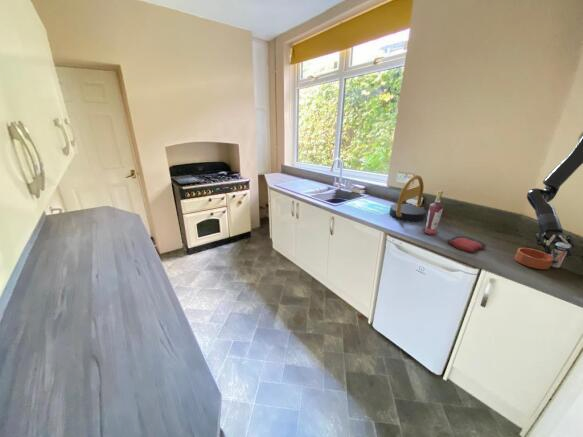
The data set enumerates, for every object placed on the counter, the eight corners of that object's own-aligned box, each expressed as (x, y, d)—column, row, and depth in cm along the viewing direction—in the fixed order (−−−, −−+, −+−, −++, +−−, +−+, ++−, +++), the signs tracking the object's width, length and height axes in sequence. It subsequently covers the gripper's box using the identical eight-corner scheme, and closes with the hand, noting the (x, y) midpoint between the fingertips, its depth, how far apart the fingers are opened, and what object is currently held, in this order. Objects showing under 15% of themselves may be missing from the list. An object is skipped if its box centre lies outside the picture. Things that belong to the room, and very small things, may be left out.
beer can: (543, 263, 117) (553, 242, 113) (548, 262, 119) (558, 240, 114) (556, 269, 113) (567, 246, 108) (561, 267, 114) (572, 245, 110)
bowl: (549, 264, 117) (554, 254, 115) (547, 273, 109) (552, 263, 107) (516, 254, 126) (519, 245, 124) (512, 262, 118) (515, 252, 116)
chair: (433, 216, 180) (443, 175, 169) (411, 227, 160) (421, 181, 148) (401, 207, 198) (409, 170, 187) (378, 216, 177) (385, 175, 166)
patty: (471, 254, 125) (472, 251, 124) (444, 244, 136) (445, 241, 135) (487, 247, 133) (488, 244, 132) (460, 237, 144) (461, 234, 143)
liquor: (432, 237, 145) (443, 193, 135) (420, 232, 151) (430, 190, 140) (438, 234, 149) (449, 191, 139) (427, 230, 154) (437, 188, 144)
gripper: (539, 219, 117) (549, 251, 110) (572, 222, 115) (584, 254, 108) (527, 225, 124) (535, 255, 117) (558, 227, 121) (569, 258, 115)
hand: (559, 254), depth 113 cm, fingers open, 8 cm apart
